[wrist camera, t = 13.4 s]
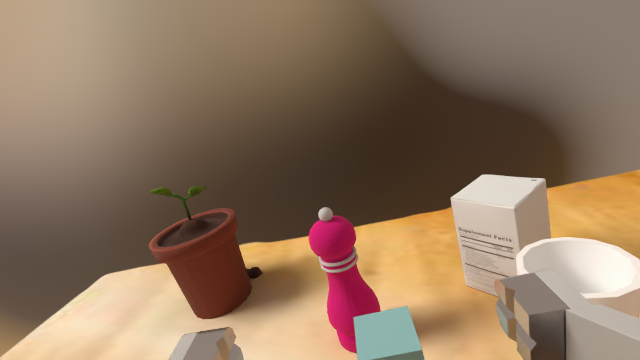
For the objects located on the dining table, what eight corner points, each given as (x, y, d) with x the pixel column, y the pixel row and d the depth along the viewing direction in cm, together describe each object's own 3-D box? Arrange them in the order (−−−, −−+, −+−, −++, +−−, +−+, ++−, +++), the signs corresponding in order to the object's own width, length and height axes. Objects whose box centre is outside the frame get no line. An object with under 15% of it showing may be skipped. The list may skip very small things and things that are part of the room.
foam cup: (667, 379, 31) (672, 262, 27) (608, 438, 28) (604, 316, 25) (561, 323, 40) (554, 228, 36) (507, 363, 37) (493, 265, 33)
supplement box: (493, 256, 55) (481, 172, 51) (555, 272, 48) (548, 177, 43) (463, 285, 50) (447, 196, 46) (527, 309, 43) (515, 206, 39)
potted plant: (166, 344, 57) (99, 214, 50) (187, 279, 77) (143, 180, 70) (265, 306, 59) (215, 177, 52) (260, 253, 80) (224, 155, 73)
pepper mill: (396, 327, 46) (363, 198, 40) (365, 365, 42) (323, 225, 36) (357, 310, 52) (323, 194, 46) (326, 342, 47) (284, 218, 41)
